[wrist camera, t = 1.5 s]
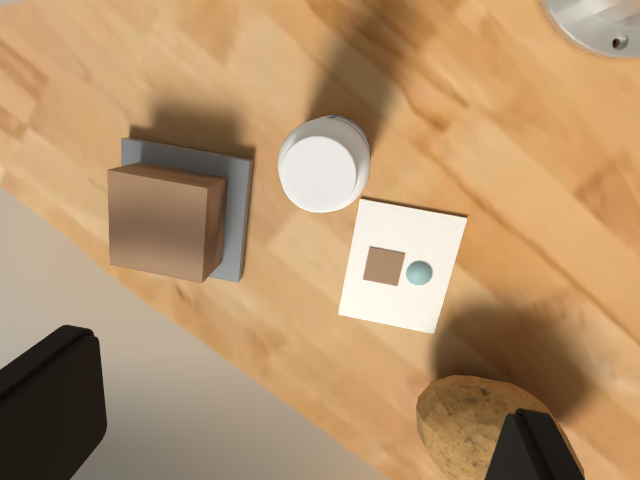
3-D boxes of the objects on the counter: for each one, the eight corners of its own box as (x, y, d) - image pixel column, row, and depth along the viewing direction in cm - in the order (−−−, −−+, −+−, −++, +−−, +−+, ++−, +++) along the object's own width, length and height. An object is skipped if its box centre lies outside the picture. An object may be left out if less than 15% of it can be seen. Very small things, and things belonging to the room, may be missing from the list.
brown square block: (140, 161, 31) (107, 169, 27) (228, 177, 30) (207, 188, 27) (140, 246, 33) (110, 264, 30) (221, 262, 33) (201, 283, 29)
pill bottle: (305, 194, 31) (274, 232, 22) (291, 122, 30) (252, 131, 20) (376, 183, 30) (376, 218, 21) (366, 108, 29) (360, 111, 19)
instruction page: (360, 198, 31) (360, 199, 30) (466, 217, 30) (467, 218, 30) (338, 313, 34) (338, 315, 34) (433, 332, 33) (434, 334, 33)
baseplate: (128, 137, 31) (121, 138, 31) (253, 159, 31) (249, 161, 30) (130, 255, 35) (123, 259, 34) (242, 277, 34) (238, 282, 33)
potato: (463, 318, 33) (489, 382, 25) (584, 420, 34) (642, 510, 27) (381, 388, 36) (382, 464, 28) (494, 479, 37) (524, 573, 30)
